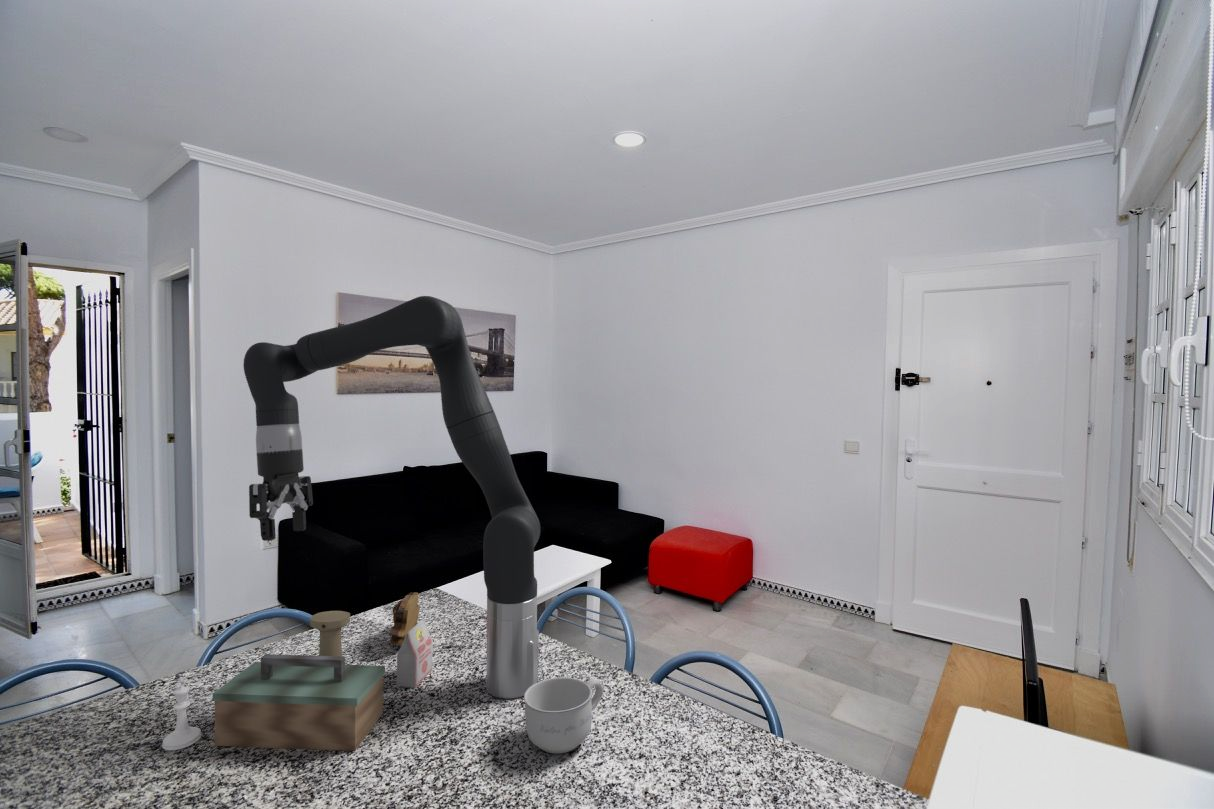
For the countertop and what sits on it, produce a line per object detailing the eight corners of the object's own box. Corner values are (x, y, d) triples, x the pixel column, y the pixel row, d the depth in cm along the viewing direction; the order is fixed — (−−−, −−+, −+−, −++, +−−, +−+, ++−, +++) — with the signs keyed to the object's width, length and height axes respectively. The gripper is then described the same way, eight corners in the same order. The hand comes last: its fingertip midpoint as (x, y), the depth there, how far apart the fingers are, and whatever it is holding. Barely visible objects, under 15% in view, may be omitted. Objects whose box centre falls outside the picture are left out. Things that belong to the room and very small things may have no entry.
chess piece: (209, 734, 90) (208, 673, 90) (176, 753, 85) (176, 688, 85) (187, 728, 92) (186, 667, 91) (154, 746, 87) (153, 682, 87)
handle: (341, 707, 98) (341, 622, 98) (305, 706, 98) (304, 621, 98) (354, 692, 103) (354, 611, 102) (319, 691, 103) (319, 610, 102)
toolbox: (403, 688, 105) (403, 625, 104) (357, 750, 87) (357, 675, 86) (283, 684, 105) (283, 621, 105) (213, 745, 87) (212, 670, 87)
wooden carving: (400, 626, 132) (400, 583, 131) (420, 624, 132) (421, 582, 132) (385, 660, 115) (386, 611, 115) (409, 658, 116) (409, 610, 116)
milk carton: (396, 685, 106) (397, 632, 105) (414, 668, 112) (415, 618, 112) (415, 687, 105) (415, 634, 105) (432, 669, 112) (432, 619, 111)
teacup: (537, 772, 83) (538, 718, 82) (514, 731, 92) (514, 683, 92) (621, 745, 89) (622, 695, 89) (591, 710, 99) (591, 664, 98)
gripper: (271, 450, 100) (277, 542, 99) (321, 445, 114) (326, 526, 113) (232, 453, 100) (237, 544, 100) (286, 448, 115) (291, 528, 114)
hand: (285, 535), depth 107 cm, fingers open, 8 cm apart
